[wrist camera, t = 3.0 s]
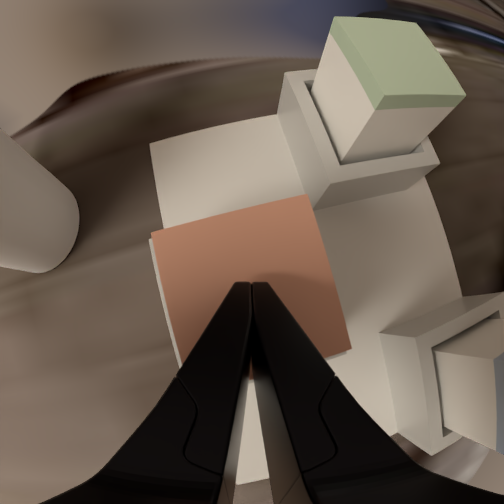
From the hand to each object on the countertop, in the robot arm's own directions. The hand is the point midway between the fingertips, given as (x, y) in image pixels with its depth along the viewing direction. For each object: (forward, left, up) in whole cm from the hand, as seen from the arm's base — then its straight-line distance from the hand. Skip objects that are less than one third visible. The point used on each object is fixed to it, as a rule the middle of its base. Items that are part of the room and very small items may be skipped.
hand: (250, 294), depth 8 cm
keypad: (0, -5, -9) cm, 11 cm away
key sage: (+8, -9, -6) cm, 13 cm away
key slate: (-7, -11, -6) cm, 14 cm away
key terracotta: (0, 0, -6) cm, 7 cm away
